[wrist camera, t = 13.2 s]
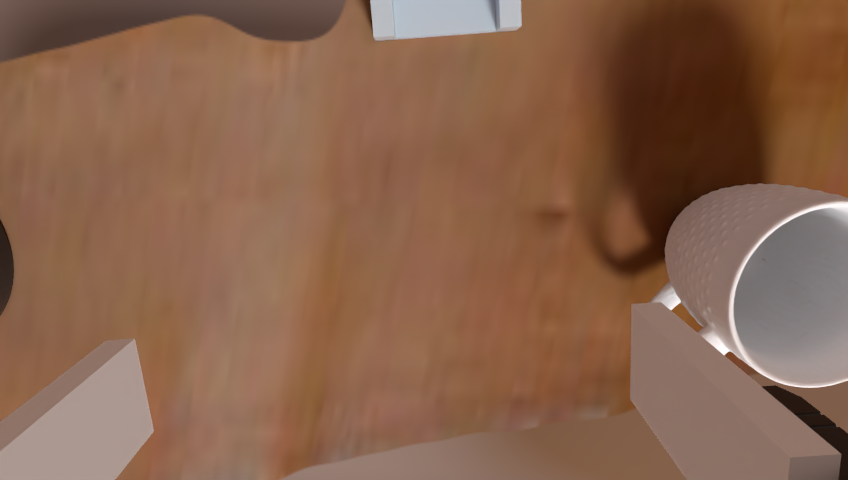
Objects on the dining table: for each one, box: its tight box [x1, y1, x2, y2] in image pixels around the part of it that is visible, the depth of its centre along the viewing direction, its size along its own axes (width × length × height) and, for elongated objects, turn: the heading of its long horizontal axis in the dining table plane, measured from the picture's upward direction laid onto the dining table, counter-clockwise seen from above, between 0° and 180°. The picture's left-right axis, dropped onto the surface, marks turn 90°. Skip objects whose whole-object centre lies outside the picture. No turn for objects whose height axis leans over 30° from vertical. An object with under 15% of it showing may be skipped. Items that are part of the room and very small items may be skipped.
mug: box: [649, 183, 848, 388], centre depth 38 cm, size 15×11×13 cm
